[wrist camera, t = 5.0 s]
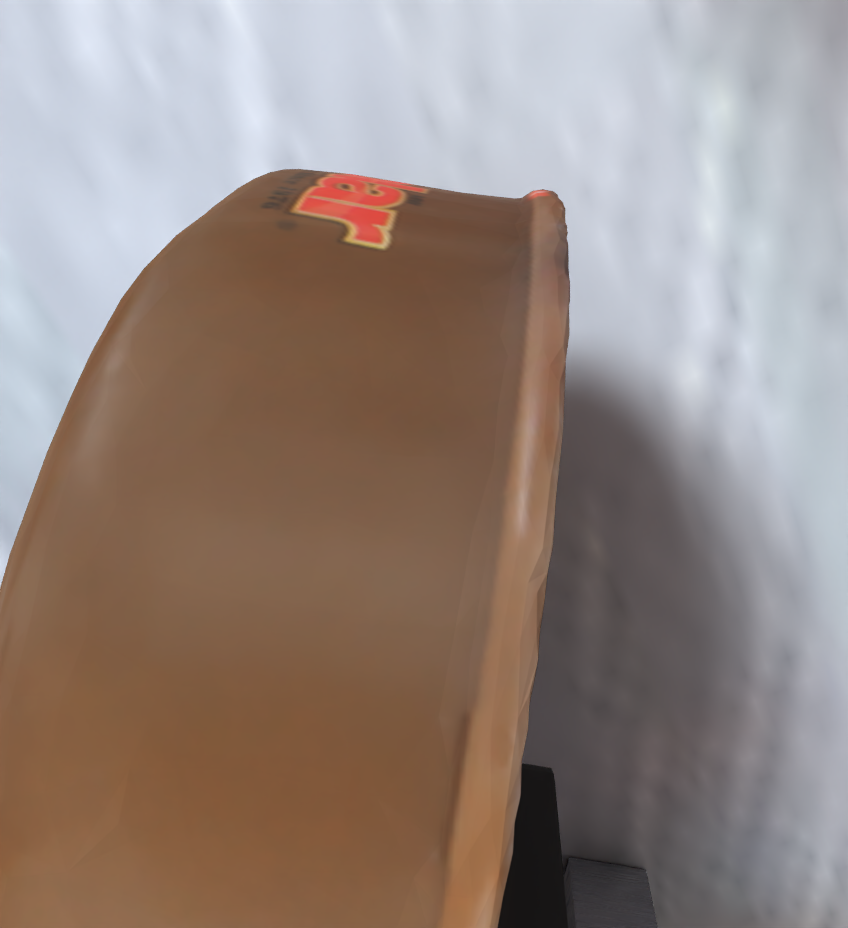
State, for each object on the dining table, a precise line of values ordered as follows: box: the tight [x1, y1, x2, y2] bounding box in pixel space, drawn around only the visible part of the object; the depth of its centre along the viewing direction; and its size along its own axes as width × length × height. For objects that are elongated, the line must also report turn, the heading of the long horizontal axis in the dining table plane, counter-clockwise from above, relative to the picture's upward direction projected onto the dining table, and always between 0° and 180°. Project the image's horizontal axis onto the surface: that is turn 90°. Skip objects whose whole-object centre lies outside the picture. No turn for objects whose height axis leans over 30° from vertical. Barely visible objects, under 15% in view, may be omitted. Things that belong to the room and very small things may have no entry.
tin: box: [0, 169, 570, 928], centre depth 9 cm, size 15×3×8 cm, turn 172°
